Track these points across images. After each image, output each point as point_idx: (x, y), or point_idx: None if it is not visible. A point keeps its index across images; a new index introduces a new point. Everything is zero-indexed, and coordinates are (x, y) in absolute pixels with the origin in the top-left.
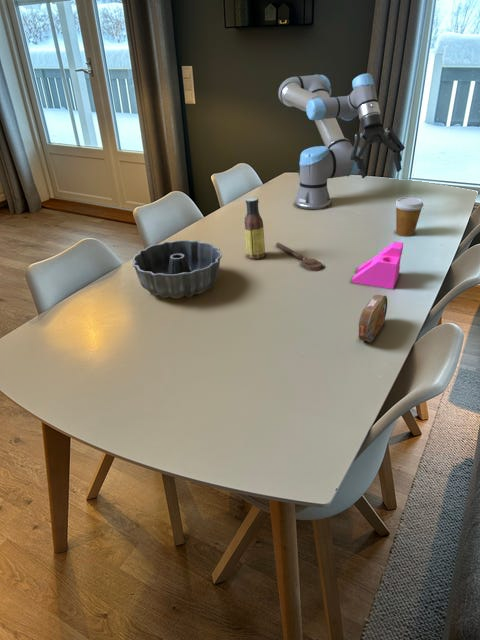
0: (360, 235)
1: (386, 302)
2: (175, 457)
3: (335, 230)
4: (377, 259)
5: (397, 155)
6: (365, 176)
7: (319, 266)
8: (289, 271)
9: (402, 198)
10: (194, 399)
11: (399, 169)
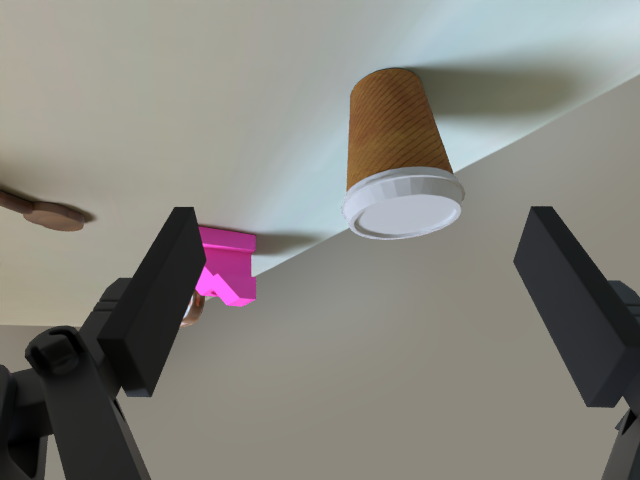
0: (193, 89)
1: (203, 303)
2: (51, 324)
3: (54, 20)
4: (203, 286)
5: (575, 371)
6: (201, 241)
7: (80, 228)
8: (7, 222)
9: (399, 196)
10: (31, 314)
11: (515, 259)
